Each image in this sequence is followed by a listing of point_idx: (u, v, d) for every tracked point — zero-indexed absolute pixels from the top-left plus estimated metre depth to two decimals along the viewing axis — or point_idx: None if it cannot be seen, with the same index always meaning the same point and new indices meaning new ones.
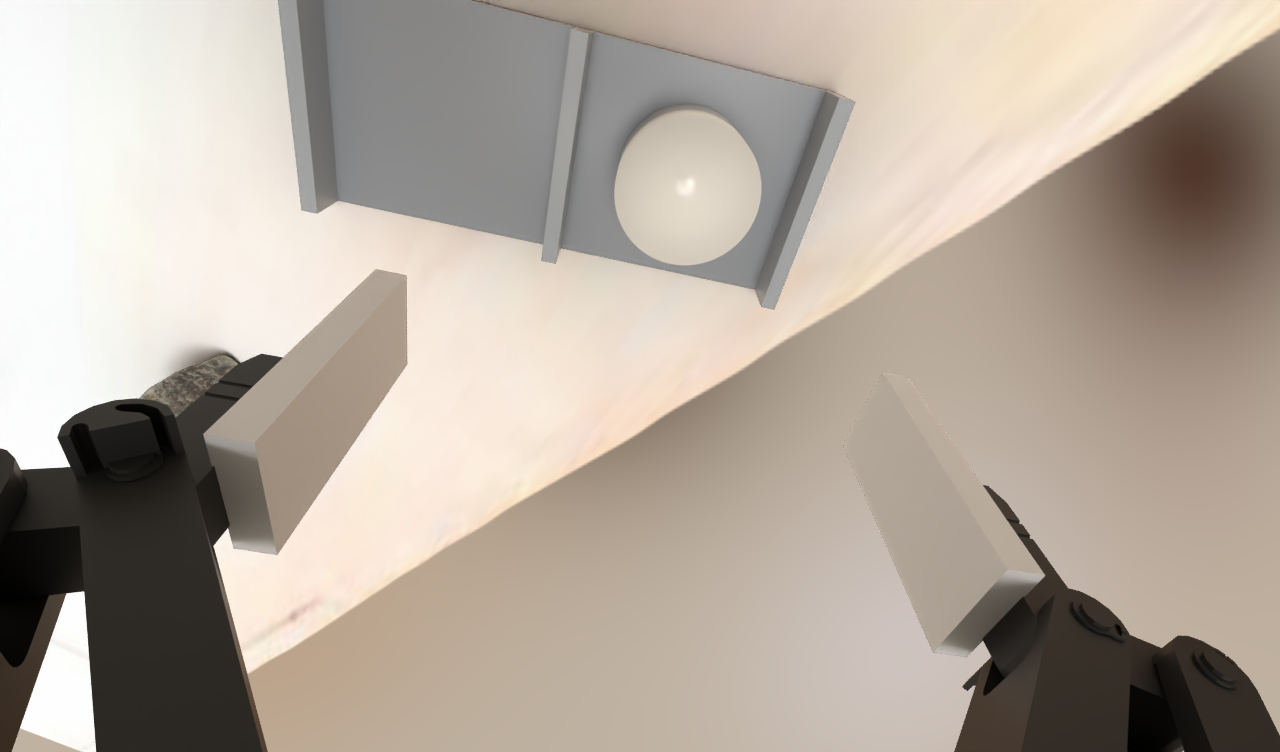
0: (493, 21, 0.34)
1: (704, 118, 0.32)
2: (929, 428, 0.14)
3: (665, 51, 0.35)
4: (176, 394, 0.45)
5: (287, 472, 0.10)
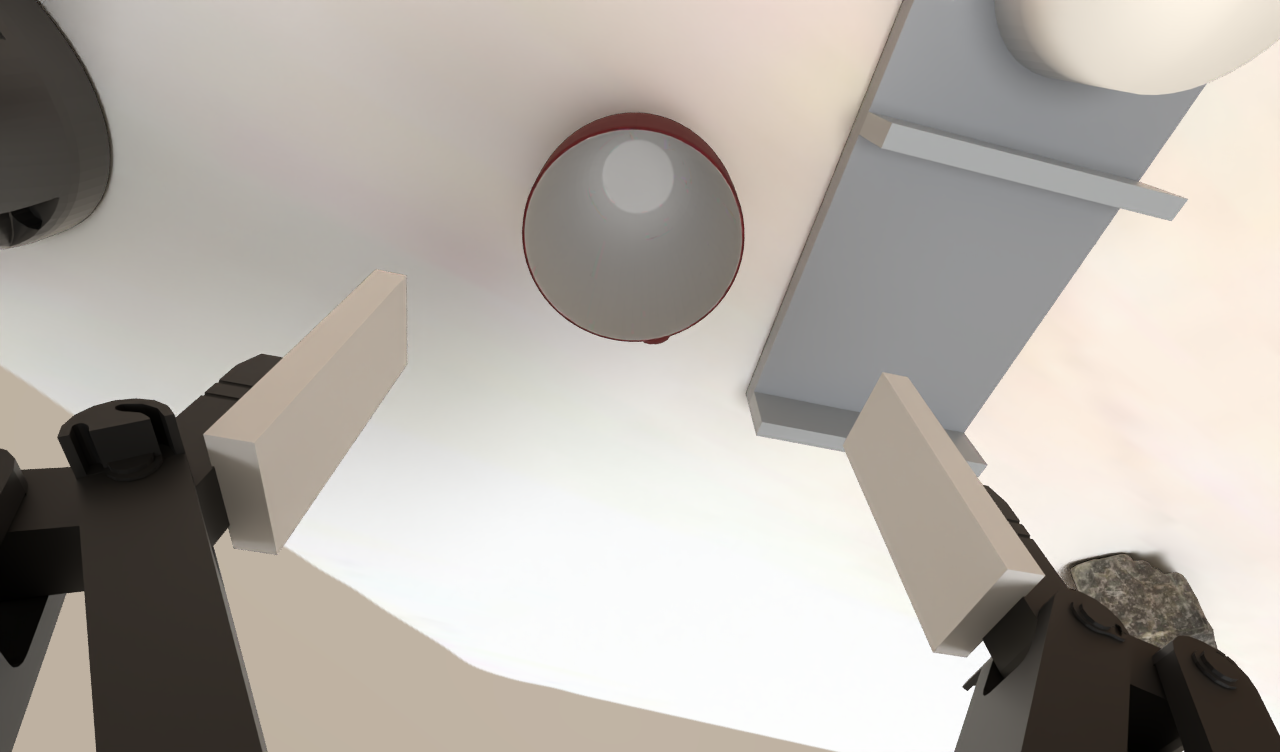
0: (831, 238, 0.29)
1: None
2: (929, 428, 0.14)
3: None
4: None
5: (287, 472, 0.10)
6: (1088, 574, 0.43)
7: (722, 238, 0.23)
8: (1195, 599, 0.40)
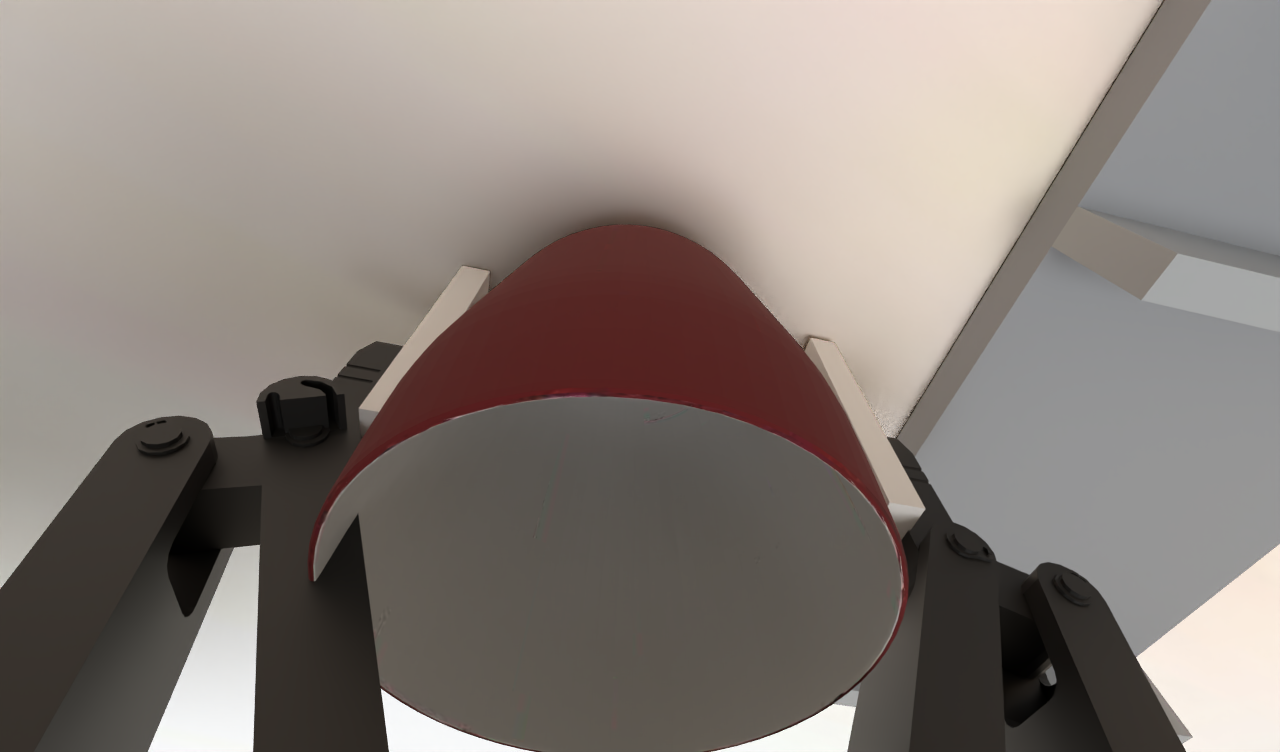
0: (971, 411, 0.16)
1: None
2: (844, 386, 0.14)
3: None
4: None
5: None
6: None
7: (811, 508, 0.11)
8: None
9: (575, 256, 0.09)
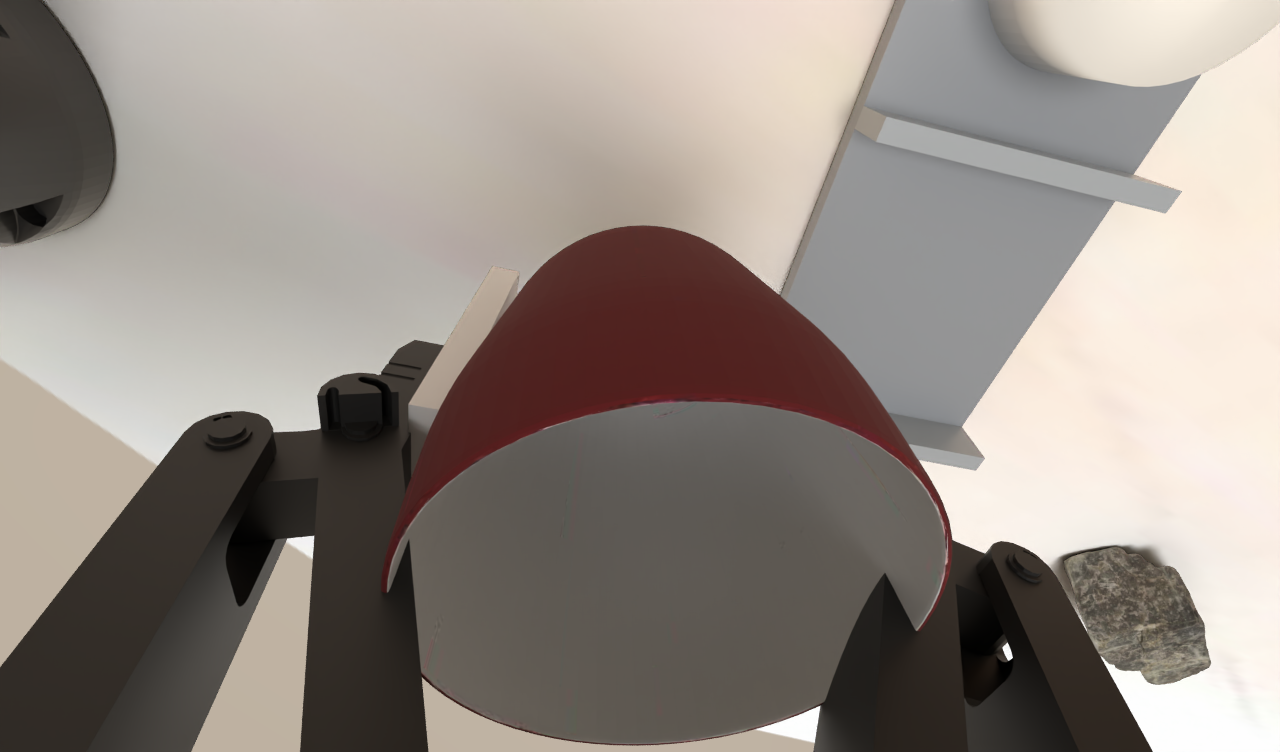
0: (828, 233, 0.29)
1: None
2: None
3: None
4: (1109, 625, 0.41)
5: None
6: (1082, 566, 0.43)
7: (835, 492, 0.11)
8: (1187, 593, 0.40)
9: (609, 261, 0.10)
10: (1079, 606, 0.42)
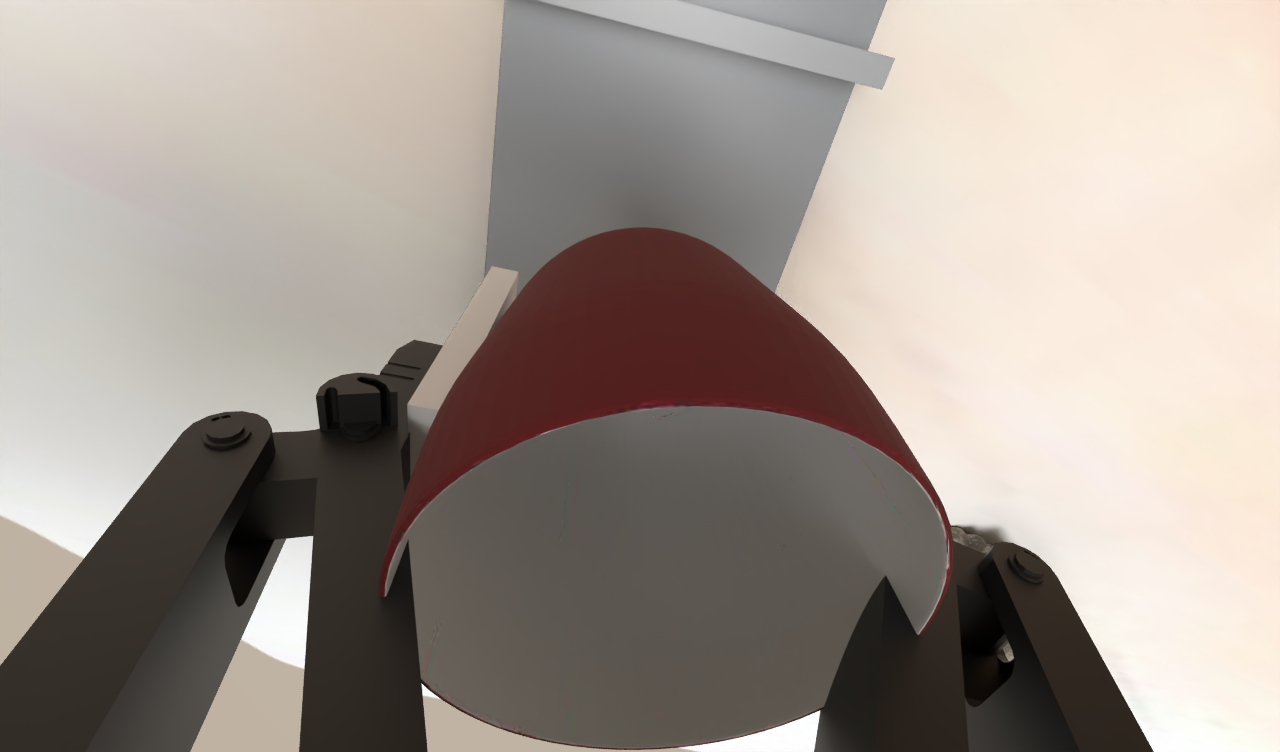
0: (513, 133, 0.24)
1: None
2: None
3: None
4: None
5: None
6: None
7: (836, 495, 0.11)
8: None
9: (609, 263, 0.09)
10: None
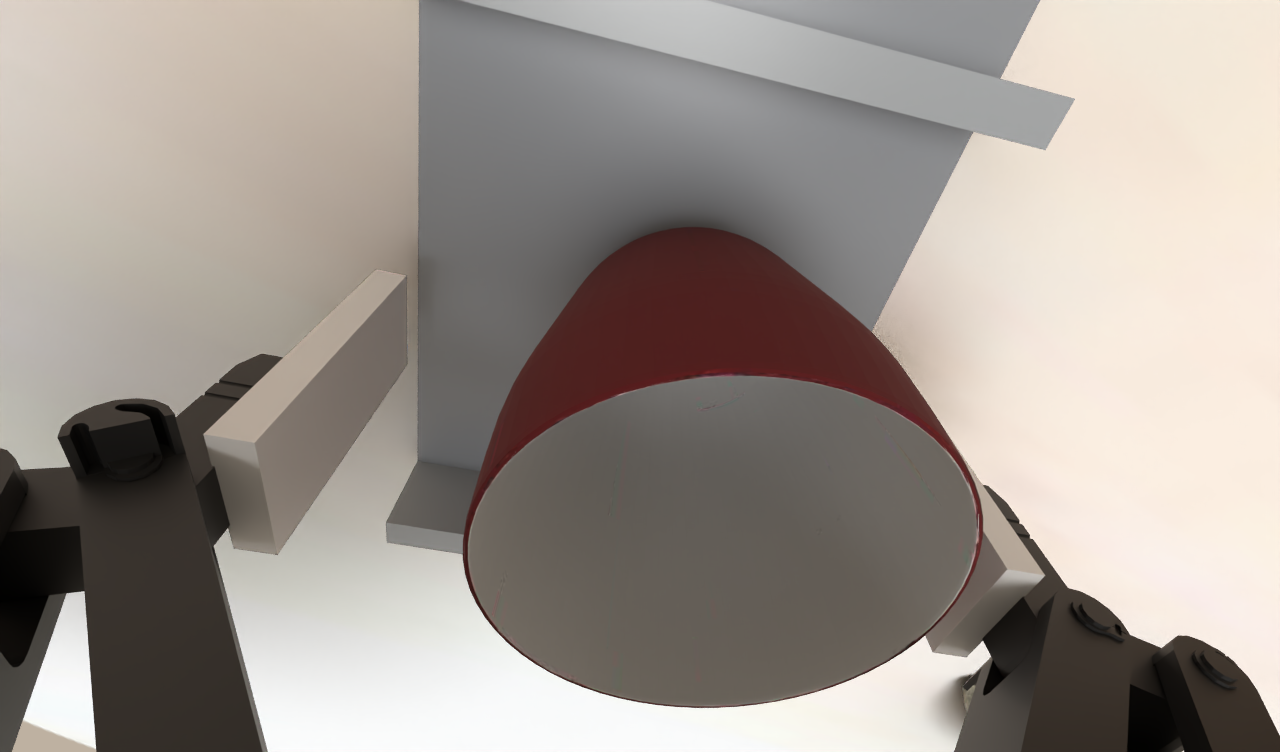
0: (446, 201, 0.16)
1: None
2: None
3: None
4: None
5: (287, 472, 0.10)
6: None
7: (872, 482, 0.12)
8: None
9: (669, 257, 0.10)
10: None
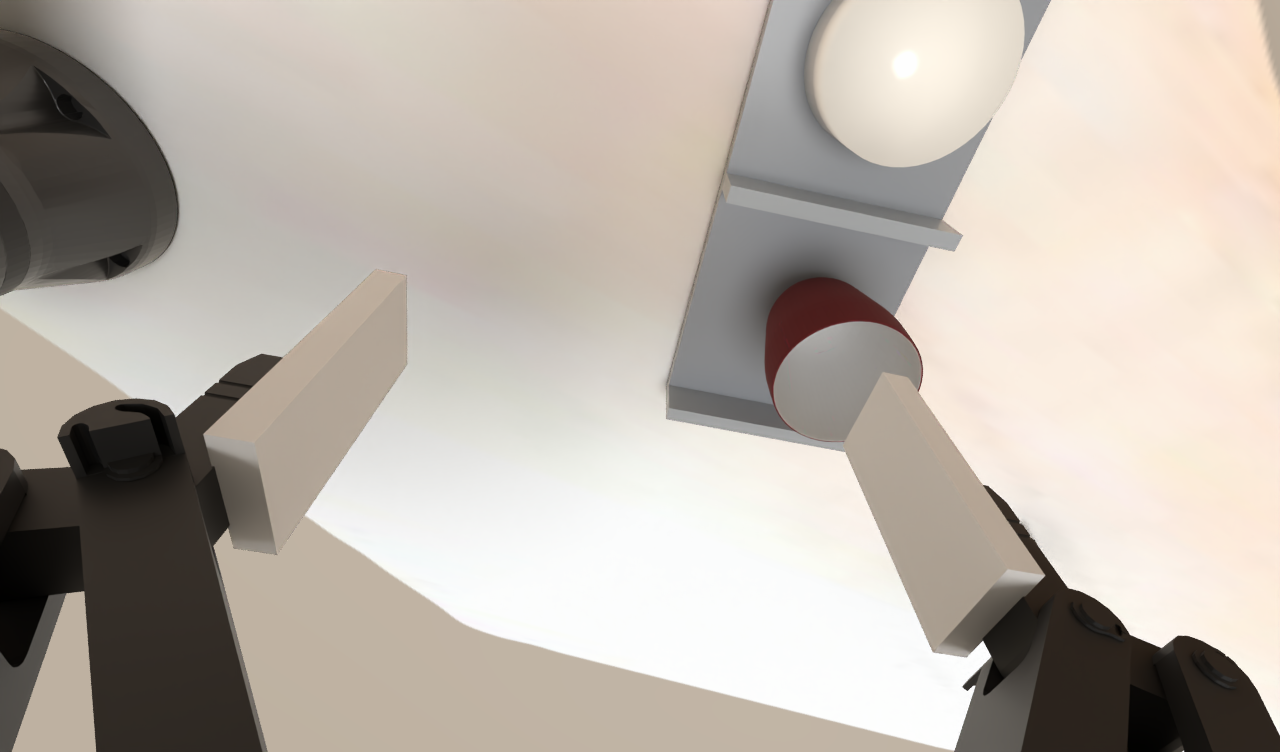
0: (713, 265, 0.38)
1: (830, 52, 0.27)
2: (929, 428, 0.14)
3: (749, 92, 0.32)
4: None
5: (287, 472, 0.10)
6: None
7: (892, 368, 0.33)
8: None
9: (825, 290, 0.32)
10: None
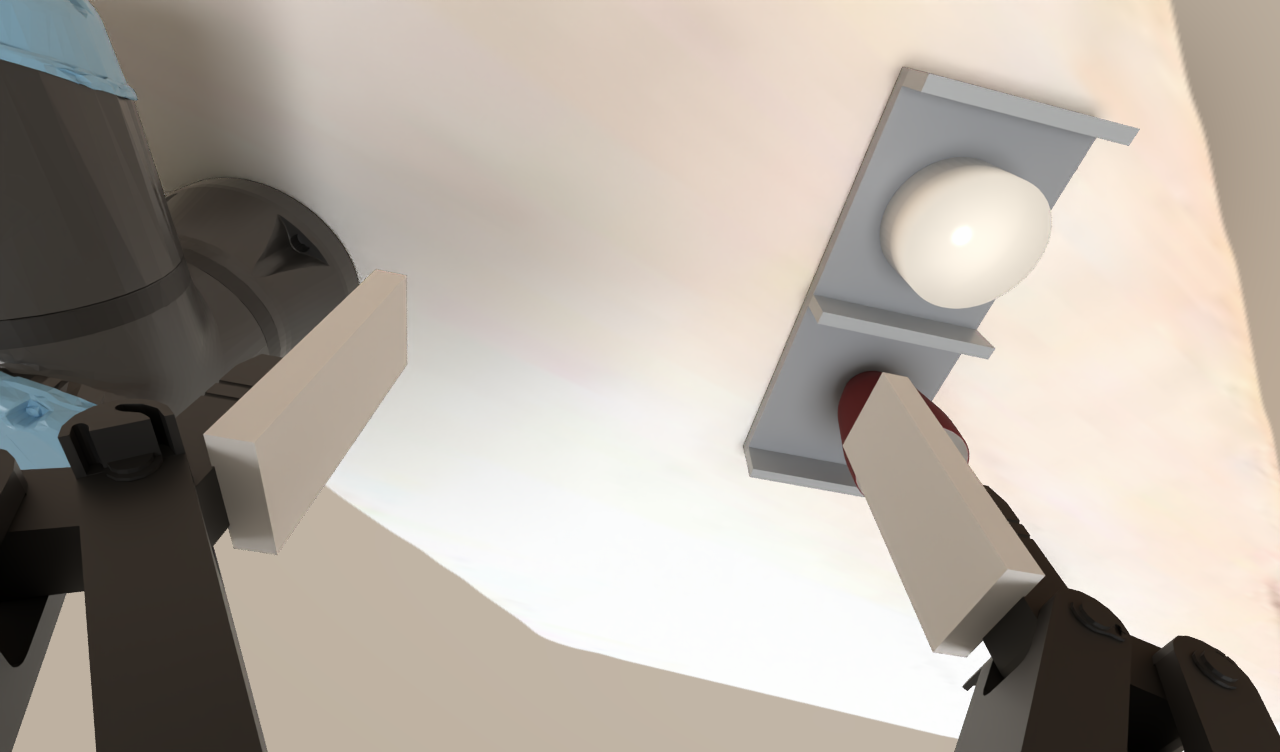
0: (794, 359, 0.48)
1: (912, 234, 0.36)
2: (929, 428, 0.14)
3: (837, 240, 0.42)
4: None
5: (287, 472, 0.10)
6: None
7: None
8: None
9: None
10: None
